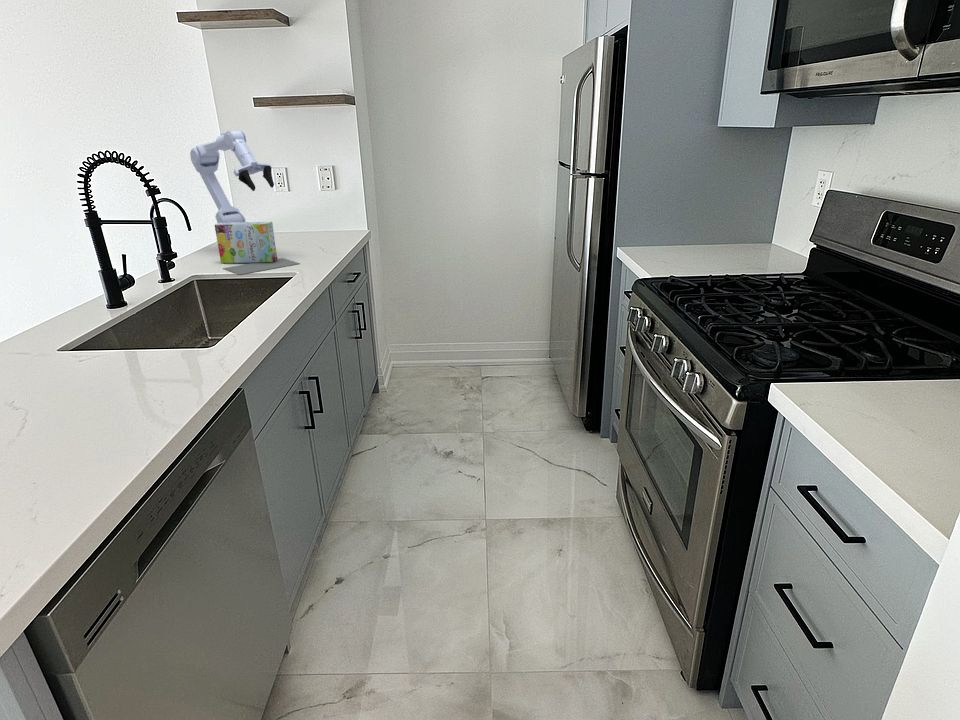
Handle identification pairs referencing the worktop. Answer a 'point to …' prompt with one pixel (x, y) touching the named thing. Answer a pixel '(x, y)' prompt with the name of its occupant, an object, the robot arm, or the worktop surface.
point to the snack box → (246, 242)
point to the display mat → (260, 266)
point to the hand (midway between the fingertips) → (263, 187)
